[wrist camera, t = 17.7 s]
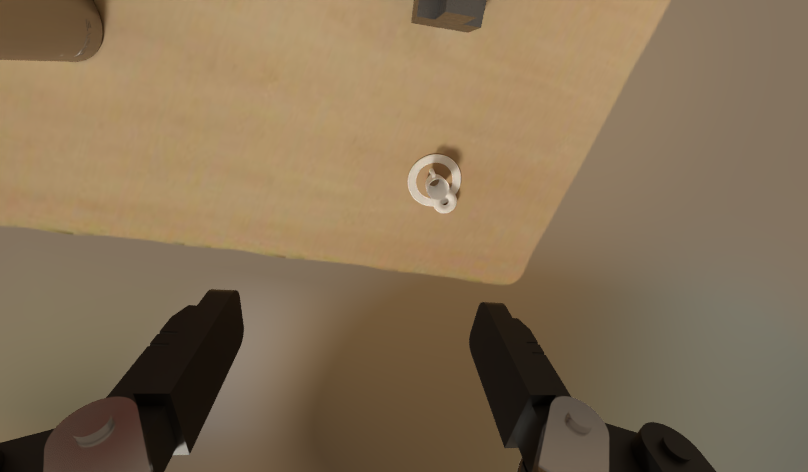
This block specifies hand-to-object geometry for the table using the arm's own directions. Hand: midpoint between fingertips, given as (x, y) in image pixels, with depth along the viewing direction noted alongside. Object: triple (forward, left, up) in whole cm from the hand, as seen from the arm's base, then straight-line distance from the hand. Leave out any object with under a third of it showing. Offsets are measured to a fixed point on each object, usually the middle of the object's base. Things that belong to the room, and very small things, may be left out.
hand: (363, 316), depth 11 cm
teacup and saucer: (+12, -3, -37) cm, 39 cm away
